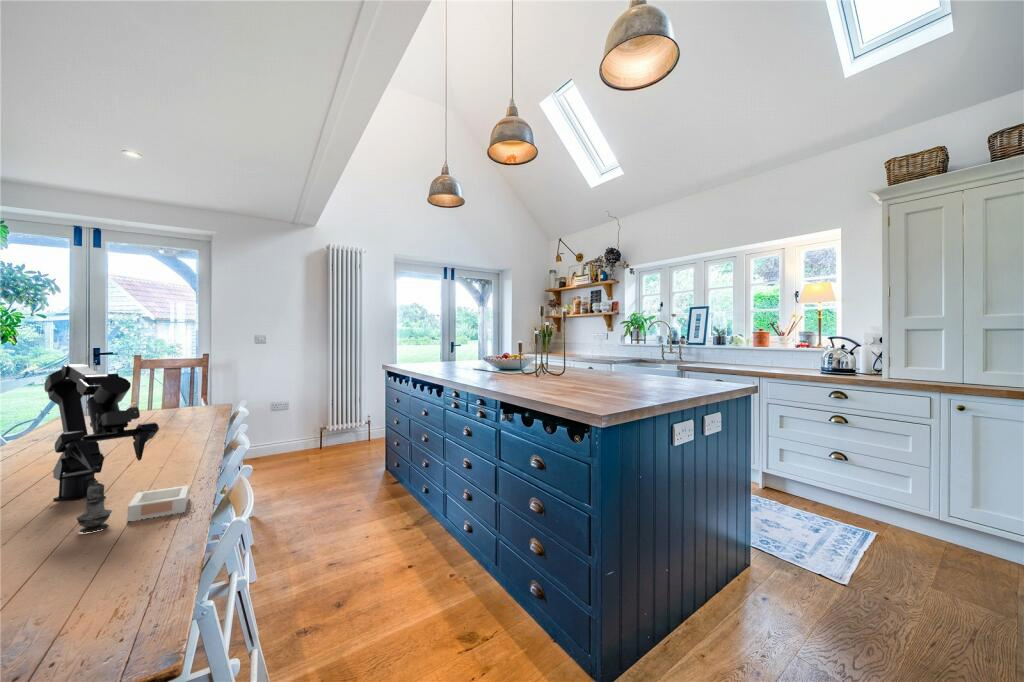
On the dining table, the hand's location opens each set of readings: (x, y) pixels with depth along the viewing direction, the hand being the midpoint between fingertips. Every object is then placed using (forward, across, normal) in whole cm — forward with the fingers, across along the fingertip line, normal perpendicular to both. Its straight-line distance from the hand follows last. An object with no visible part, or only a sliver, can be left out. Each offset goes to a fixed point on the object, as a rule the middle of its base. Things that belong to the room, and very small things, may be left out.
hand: (116, 464), depth 100 cm
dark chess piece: (+14, -5, +4) cm, 16 cm away
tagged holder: (+14, +8, +5) cm, 16 cm away
